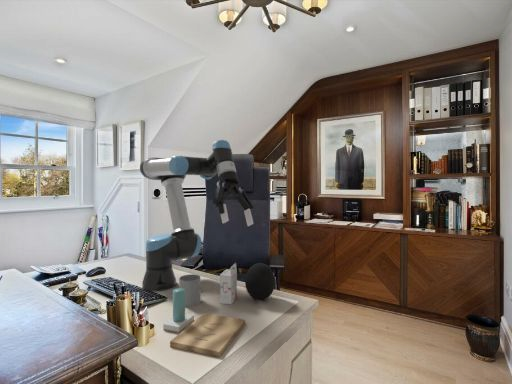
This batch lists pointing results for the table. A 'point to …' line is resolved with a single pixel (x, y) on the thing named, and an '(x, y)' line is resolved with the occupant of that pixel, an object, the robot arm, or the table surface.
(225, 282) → the ink cartridge box
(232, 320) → the board
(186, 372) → the table surface
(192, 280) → the cup
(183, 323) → the teal cylinder on base
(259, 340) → the table surface
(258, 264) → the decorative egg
